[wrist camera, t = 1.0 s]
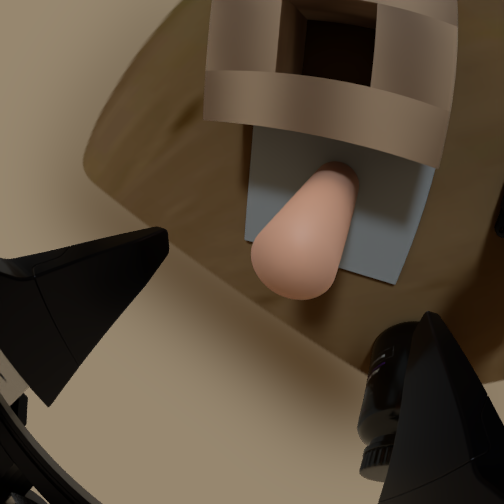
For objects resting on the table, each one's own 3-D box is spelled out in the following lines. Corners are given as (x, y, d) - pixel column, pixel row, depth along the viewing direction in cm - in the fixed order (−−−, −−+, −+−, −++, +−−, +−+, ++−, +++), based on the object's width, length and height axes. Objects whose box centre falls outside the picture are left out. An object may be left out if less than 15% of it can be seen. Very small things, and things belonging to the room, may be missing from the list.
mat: (434, 164, 14) (435, 166, 14) (394, 281, 19) (395, 284, 19) (256, 122, 18) (253, 123, 18) (246, 237, 23) (244, 239, 22)
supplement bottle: (362, 329, 22) (329, 459, 13) (438, 308, 18) (443, 450, 9) (383, 376, 24) (358, 488, 14) (448, 361, 20) (445, 481, 11)
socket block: (438, 10, 9) (455, -19, 5) (422, 152, 14) (438, 169, 10) (254, -14, 12) (217, -40, 8) (243, 114, 18) (202, 120, 14)
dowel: (363, 168, 16) (346, 237, 8) (353, 211, 18) (324, 310, 10) (317, 156, 17) (254, 211, 9) (310, 199, 19) (247, 285, 11)
